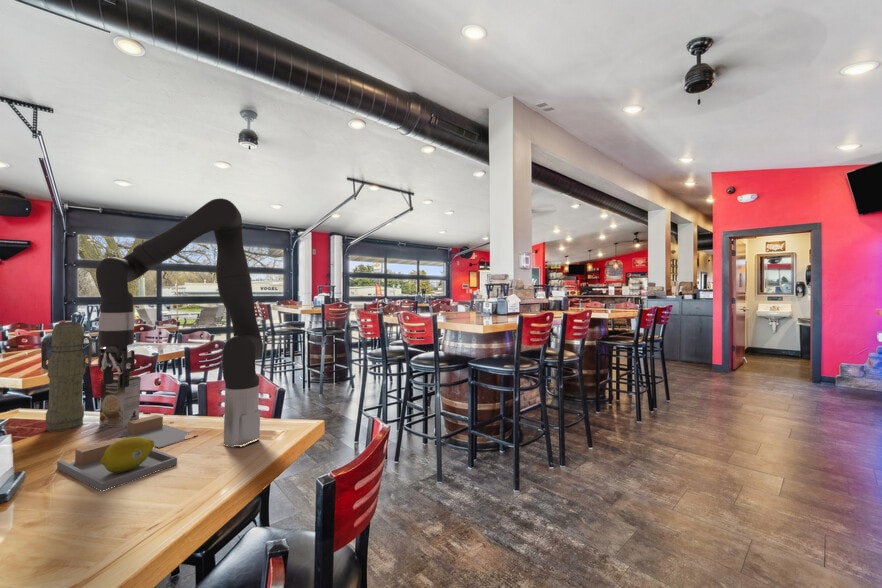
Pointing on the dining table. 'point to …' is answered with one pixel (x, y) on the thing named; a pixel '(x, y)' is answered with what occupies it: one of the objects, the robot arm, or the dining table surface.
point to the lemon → (126, 454)
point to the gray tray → (102, 479)
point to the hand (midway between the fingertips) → (115, 385)
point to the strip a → (155, 431)
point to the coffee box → (119, 403)
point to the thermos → (66, 375)
